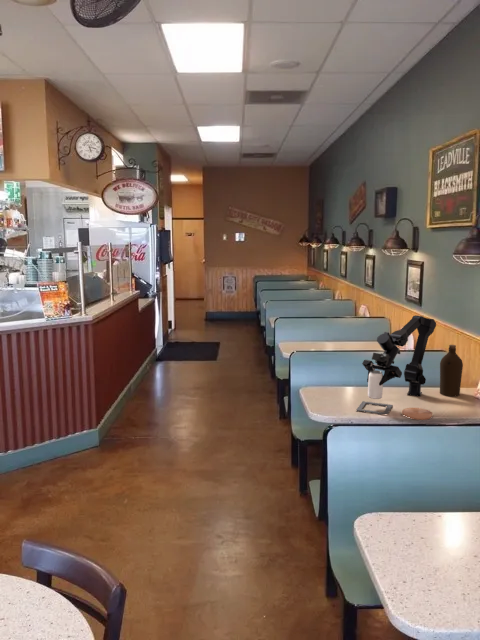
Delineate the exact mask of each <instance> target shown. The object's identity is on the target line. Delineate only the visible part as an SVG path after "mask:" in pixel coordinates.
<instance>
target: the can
mask: <svg viewBox="0 0 480 640" xmlns="http://www.w3.org/2000/svg"><path fill="white" fill-rule="evenodd" d="M383 375H384V373H383V371H382V370H377V369H375V370H373V371H370V373H369V380H368V382H367V385H368V386H367V397H368V399H373V400H380V399H382V398H383V388H384V387H383V386H384V384H382V385H381V386H380V385H379V383H380V381H381V379H382V377H383Z"/></svg>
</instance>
